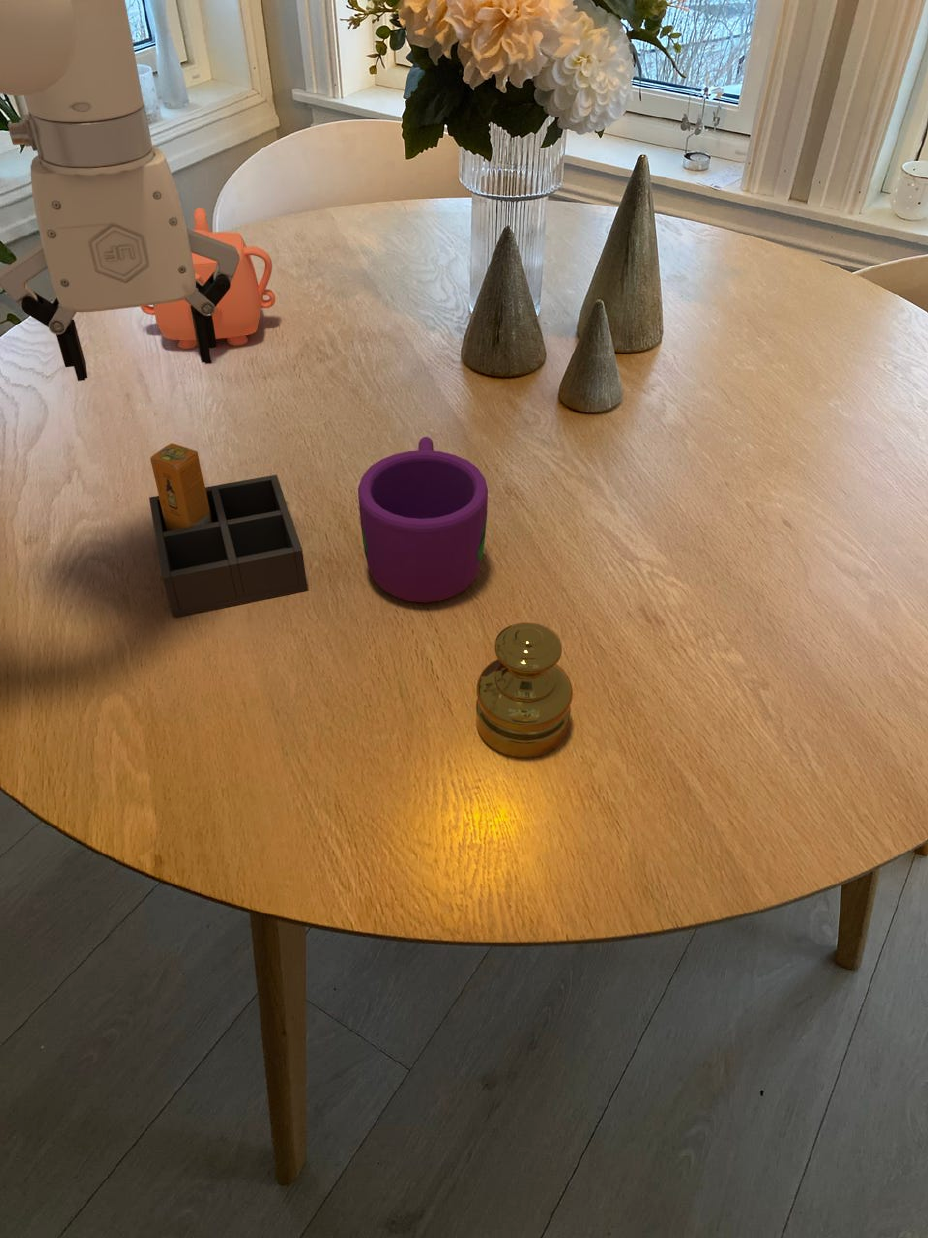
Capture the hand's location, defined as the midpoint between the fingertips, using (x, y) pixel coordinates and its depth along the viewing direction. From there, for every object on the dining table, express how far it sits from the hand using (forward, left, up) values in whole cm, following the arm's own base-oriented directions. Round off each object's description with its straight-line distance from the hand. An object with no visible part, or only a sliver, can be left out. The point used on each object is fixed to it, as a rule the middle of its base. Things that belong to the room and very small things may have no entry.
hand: (144, 364), depth 77 cm
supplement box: (+1, +1, -19) cm, 19 cm away
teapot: (+9, +45, -20) cm, 50 cm away
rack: (+4, -2, -20) cm, 21 cm away
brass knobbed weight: (+23, -29, -20) cm, 42 cm away
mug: (+22, -6, -20) cm, 30 cm away
